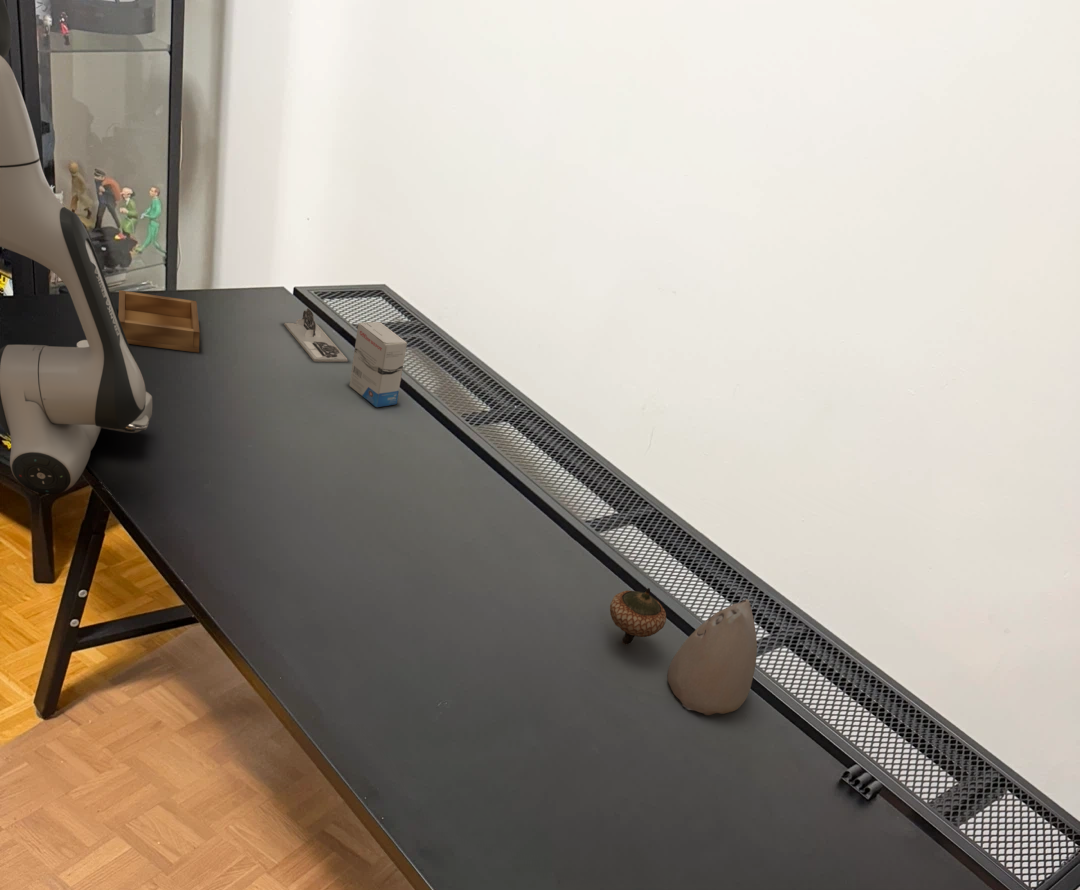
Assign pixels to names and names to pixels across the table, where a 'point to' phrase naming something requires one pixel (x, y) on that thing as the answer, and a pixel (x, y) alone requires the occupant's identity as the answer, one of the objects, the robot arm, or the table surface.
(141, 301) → the box
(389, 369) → the ink box
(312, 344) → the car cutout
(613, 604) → the acorn
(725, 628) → the sculpture
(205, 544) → the table surface
